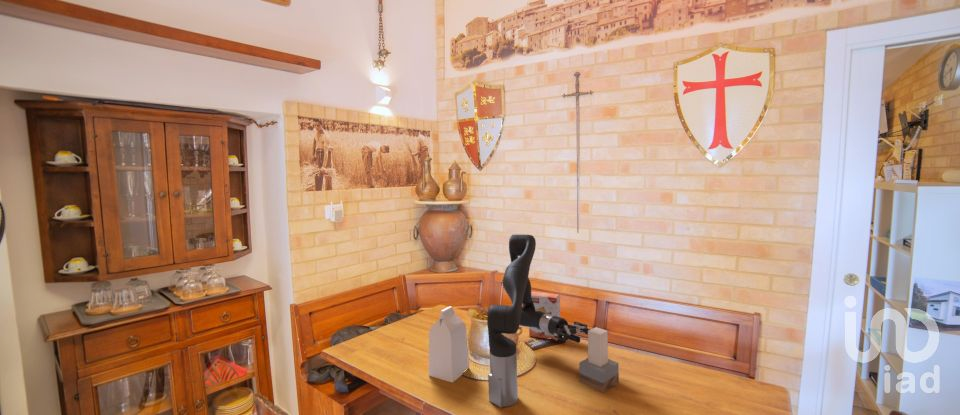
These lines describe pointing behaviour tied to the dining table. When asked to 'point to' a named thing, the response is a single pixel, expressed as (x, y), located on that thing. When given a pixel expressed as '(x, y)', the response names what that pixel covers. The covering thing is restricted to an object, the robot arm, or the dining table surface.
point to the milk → (448, 347)
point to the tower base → (597, 384)
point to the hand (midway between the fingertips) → (586, 336)
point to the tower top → (599, 370)
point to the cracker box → (545, 311)
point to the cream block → (598, 346)
